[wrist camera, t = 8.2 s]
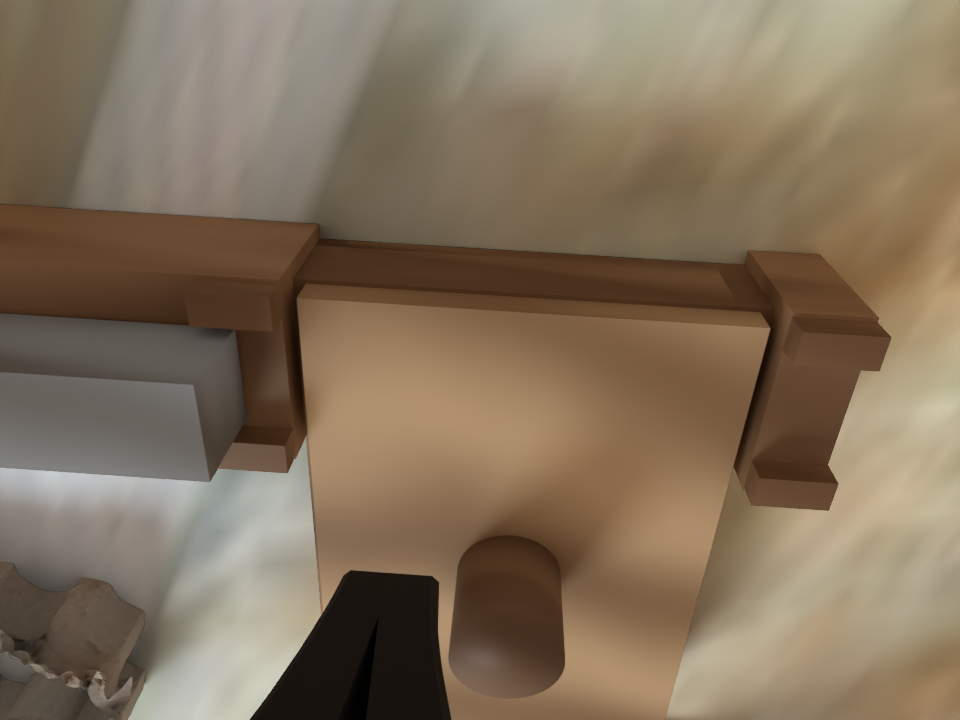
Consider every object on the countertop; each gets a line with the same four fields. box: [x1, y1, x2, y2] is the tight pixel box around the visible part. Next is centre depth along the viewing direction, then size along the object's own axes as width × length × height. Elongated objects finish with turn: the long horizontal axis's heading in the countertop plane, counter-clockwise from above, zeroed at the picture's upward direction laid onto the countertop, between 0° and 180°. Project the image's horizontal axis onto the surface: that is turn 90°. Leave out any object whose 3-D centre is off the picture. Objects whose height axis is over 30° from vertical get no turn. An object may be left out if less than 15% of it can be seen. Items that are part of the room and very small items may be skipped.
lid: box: [297, 283, 771, 720], centre depth 19 cm, size 16×10×4 cm, turn 177°
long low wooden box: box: [0, 204, 891, 615], centre depth 21 cm, size 16×26×4 cm, turn 87°
